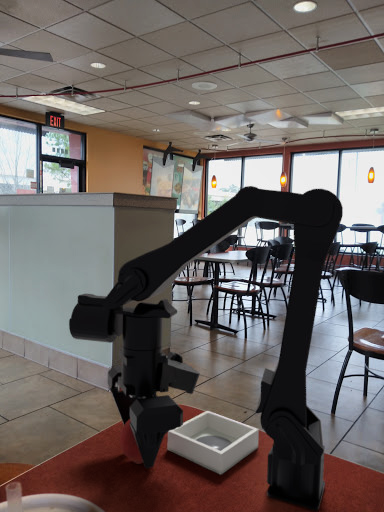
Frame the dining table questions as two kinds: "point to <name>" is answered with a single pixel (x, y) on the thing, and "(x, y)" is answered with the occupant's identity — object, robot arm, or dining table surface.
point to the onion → (129, 444)
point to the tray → (213, 441)
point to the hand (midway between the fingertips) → (139, 450)
